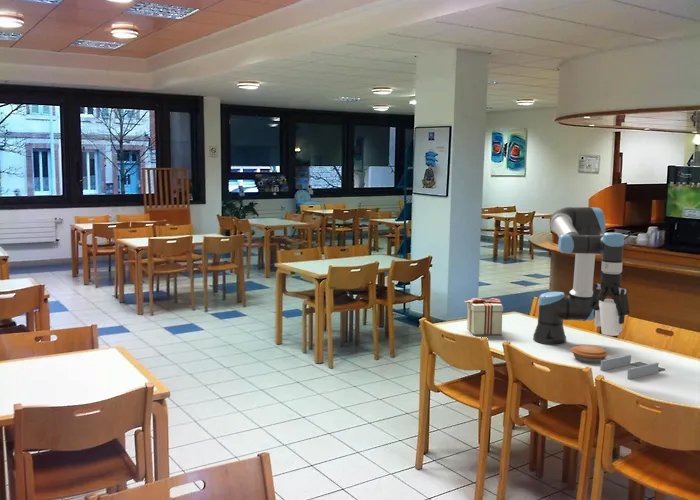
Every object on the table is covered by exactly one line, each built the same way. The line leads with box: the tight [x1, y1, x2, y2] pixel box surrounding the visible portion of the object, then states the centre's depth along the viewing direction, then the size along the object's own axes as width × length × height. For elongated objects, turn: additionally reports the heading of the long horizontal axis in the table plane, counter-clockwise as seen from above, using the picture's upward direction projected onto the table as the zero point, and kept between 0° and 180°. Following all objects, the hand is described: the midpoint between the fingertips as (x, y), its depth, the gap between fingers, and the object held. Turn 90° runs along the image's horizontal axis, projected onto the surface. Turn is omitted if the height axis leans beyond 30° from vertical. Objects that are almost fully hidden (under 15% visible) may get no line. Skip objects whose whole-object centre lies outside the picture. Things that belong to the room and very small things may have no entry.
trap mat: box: [630, 361, 666, 373], centre depth 272 cm, size 12×6×1 cm, turn 30°
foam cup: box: [599, 298, 620, 337], centre depth 256 cm, size 10×9×13 cm
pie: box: [570, 344, 610, 364], centre depth 283 cm, size 15×16×5 cm
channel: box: [600, 354, 659, 380], centre depth 266 cm, size 14×18×4 cm
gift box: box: [463, 297, 504, 336], centre depth 329 cm, size 17×18×17 cm
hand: (607, 328), depth 256 cm, fingers closed on foam cup, 9 cm apart
